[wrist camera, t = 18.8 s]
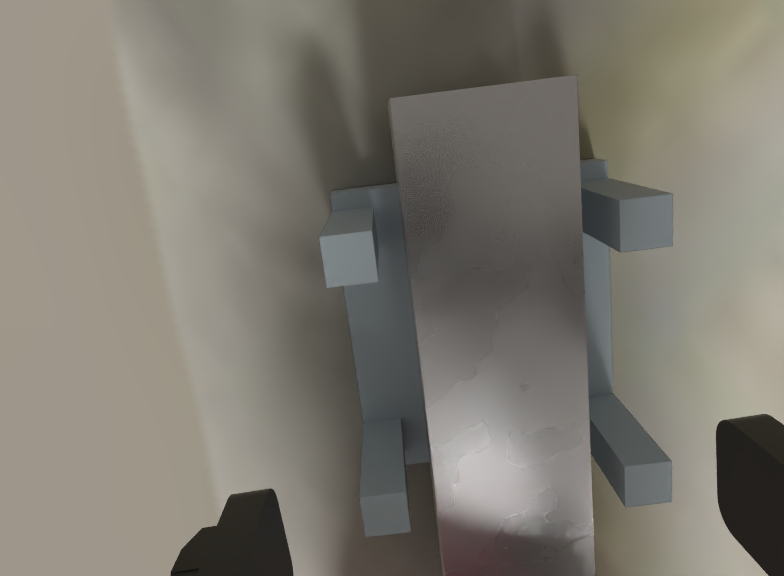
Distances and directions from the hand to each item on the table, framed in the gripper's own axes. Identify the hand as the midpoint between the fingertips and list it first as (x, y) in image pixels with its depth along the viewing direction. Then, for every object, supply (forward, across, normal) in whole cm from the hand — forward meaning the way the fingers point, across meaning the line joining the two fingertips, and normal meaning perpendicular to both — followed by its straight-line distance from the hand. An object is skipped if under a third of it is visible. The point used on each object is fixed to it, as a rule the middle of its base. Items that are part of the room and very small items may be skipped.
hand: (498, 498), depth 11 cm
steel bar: (+8, -1, +1) cm, 8 cm away
